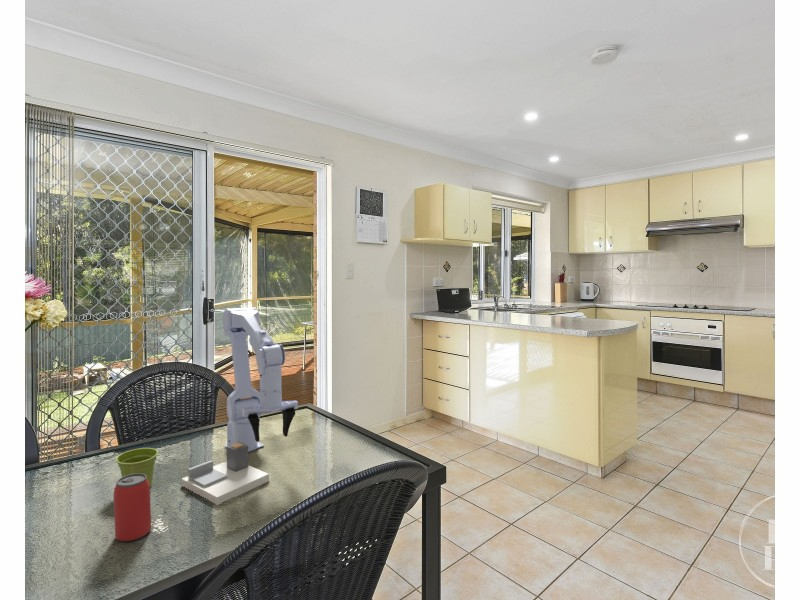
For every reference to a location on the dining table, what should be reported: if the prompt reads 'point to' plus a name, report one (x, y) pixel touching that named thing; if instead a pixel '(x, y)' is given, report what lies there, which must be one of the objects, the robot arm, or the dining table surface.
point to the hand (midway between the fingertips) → (271, 437)
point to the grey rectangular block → (237, 456)
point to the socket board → (228, 483)
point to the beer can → (132, 507)
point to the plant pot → (138, 462)
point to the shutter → (205, 474)
